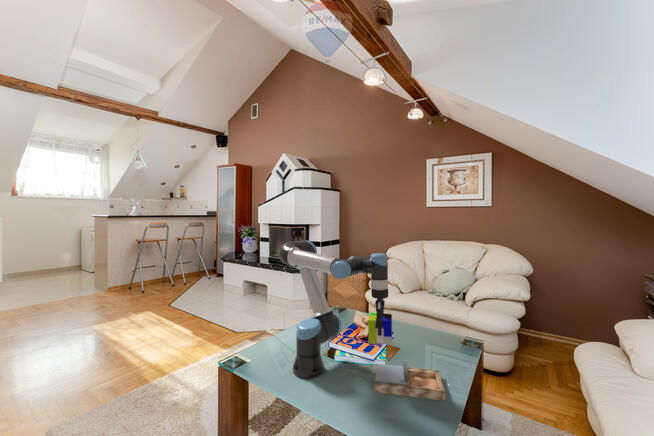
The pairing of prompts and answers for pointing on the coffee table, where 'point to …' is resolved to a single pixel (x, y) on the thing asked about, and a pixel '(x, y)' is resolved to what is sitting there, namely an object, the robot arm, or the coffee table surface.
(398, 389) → the board
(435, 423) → the coffee table surface
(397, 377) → the lid
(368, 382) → the coffee table surface
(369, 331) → the puzzle toy
